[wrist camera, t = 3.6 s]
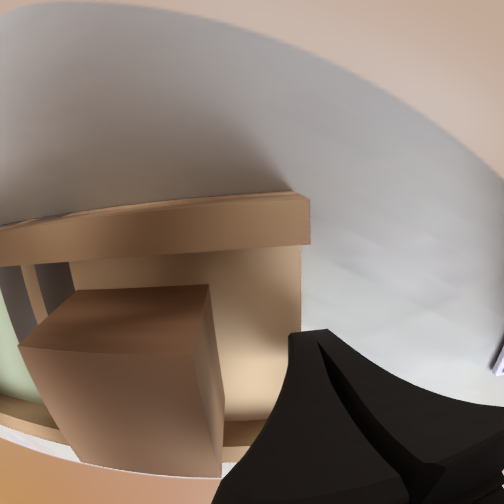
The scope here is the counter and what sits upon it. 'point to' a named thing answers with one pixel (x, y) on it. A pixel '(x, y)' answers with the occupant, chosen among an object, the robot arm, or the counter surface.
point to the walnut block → (134, 378)
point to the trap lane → (158, 275)
